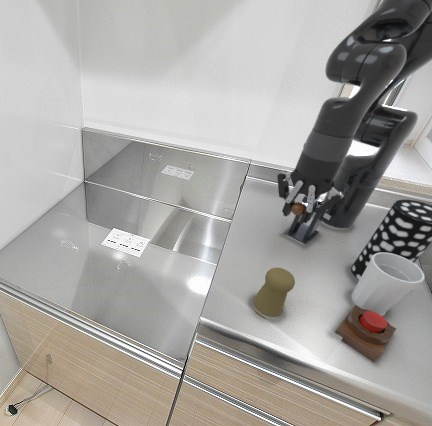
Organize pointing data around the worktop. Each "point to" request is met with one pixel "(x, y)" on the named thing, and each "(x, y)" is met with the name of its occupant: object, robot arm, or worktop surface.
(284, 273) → the cork
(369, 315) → the button
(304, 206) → the lever
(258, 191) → the worktop surface
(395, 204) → the white-spotted black cylinder
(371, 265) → the cup
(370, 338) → the button block
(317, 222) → the lever bracket
